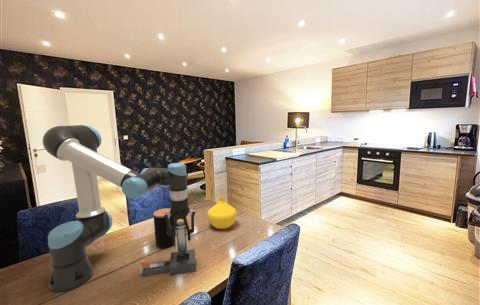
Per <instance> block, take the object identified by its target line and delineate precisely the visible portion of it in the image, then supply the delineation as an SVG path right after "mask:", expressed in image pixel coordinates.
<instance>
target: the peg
mask: <svg viewBox="0 0 480 305" xmlns="http://www.w3.org/2000/svg"><path fill="white" fill-rule="evenodd" d="M186 232H187V230H186V225H185V224H184V221H177V226H176V234H177V244H178V250H177V252H178V255H179V256H184V255H186V254H187V250H188V249H187V244H186Z"/></svg>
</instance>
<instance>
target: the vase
mask: <svg viewBox="0 0 480 305" xmlns="http://www.w3.org/2000/svg"><path fill="white" fill-rule="evenodd" d="M218 200H219V201H218V202H217V203H216V204H215V205H213V206H212V207H210V208H209V209H208V211H207V219H208V222H209V223H210V225H211V226H213V227H214V228H216V229H218V230H226V229H229V228H230V227H232V226H233V225H234V224H235V221H236V219H237V217H238V212H237V209H236V208H235V207H234V206H232V205H230V204H229V203H228V202H226V201H225V196H224V195H219V199H218Z"/></svg>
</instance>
